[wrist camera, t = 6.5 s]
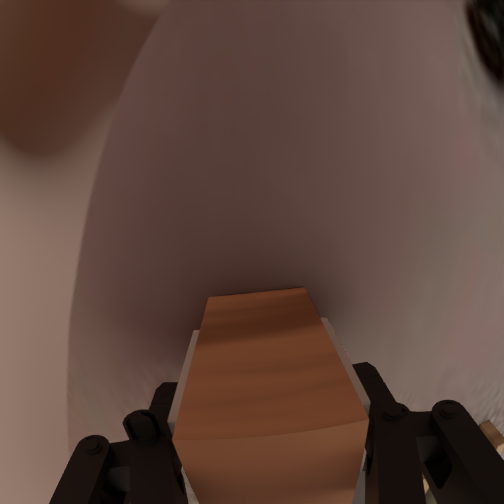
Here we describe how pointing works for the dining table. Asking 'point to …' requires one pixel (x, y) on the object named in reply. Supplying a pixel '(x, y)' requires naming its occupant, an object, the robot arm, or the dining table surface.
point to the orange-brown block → (269, 406)
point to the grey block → (360, 490)
